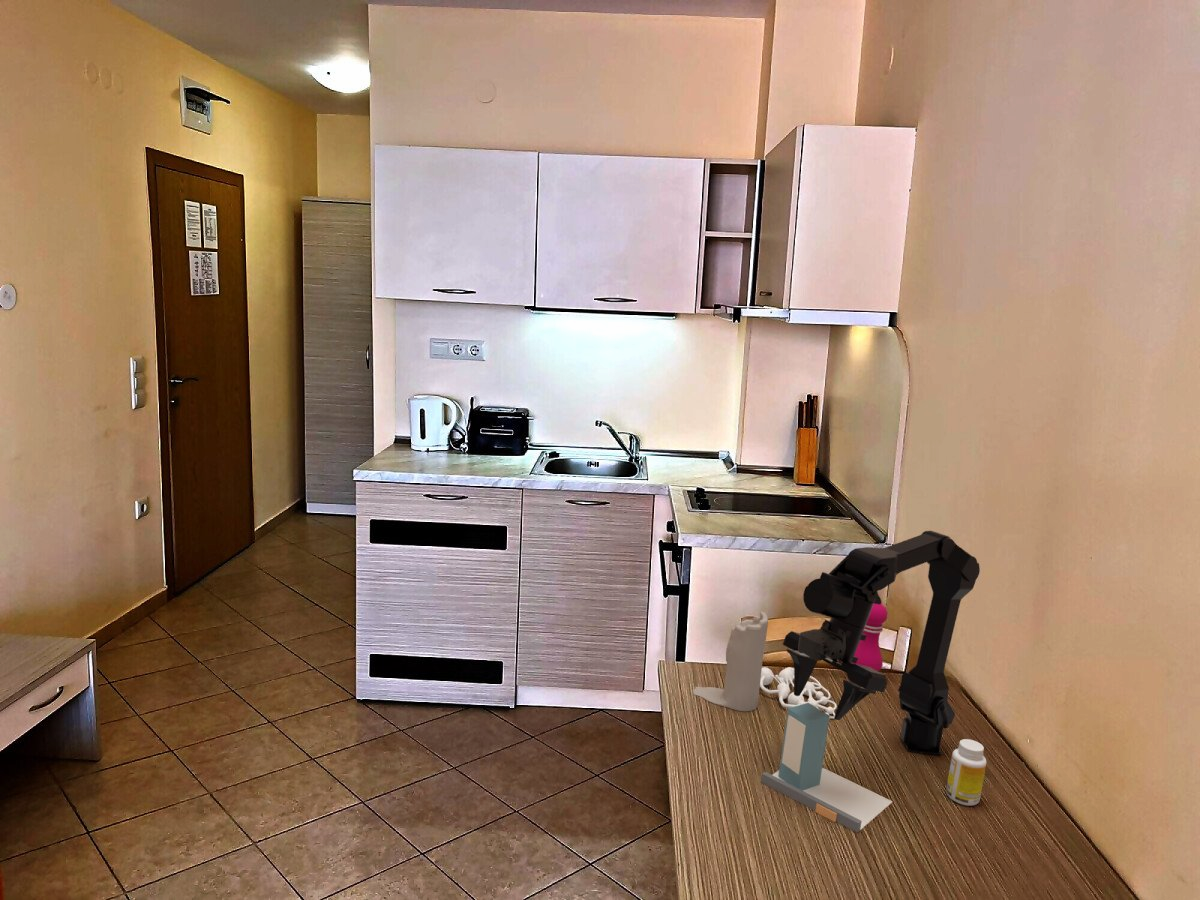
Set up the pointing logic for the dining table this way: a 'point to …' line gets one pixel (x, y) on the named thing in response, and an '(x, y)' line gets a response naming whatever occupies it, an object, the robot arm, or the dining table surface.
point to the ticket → (826, 812)
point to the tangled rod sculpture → (783, 691)
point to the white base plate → (834, 798)
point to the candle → (741, 667)
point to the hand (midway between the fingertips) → (816, 707)
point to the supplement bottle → (966, 773)
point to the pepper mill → (872, 639)
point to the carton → (803, 746)
